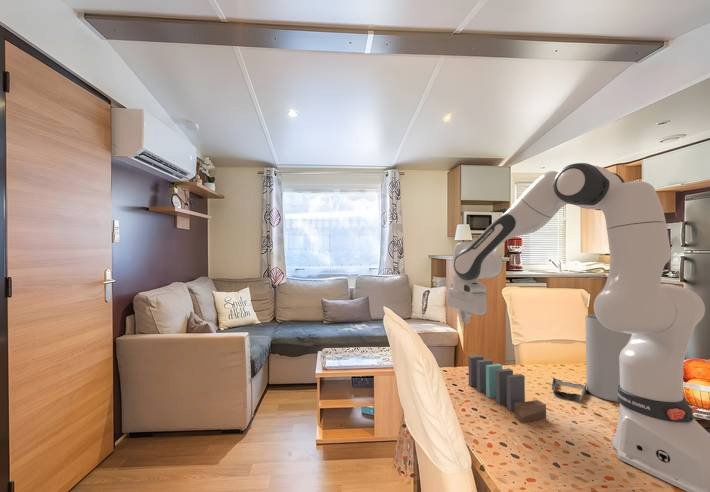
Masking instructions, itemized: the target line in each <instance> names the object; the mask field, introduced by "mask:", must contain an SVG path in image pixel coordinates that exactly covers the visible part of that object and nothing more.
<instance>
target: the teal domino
mask: <svg viewBox="0 0 710 492" xmlns="http://www.w3.org/2000/svg"><path fill="white" fill-rule="evenodd" d="M501 369H503V364H500V363H492V365H486V391H485V396H486V397H487V398H488V397H489V399H493V398H496V370H501Z"/></svg>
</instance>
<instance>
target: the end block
mask: <svg viewBox="0 0 710 492" xmlns="http://www.w3.org/2000/svg"><path fill="white" fill-rule="evenodd" d="M513 412H514V418H515V420H517V421H519V422H521V423H523V424H524V423H530V422H535V421H542V420H546V419H547V404H545V402H542V401H541V400H539V399H534V400H528V401H527V400H526V401H525V402H520V403H514V411H513Z"/></svg>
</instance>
